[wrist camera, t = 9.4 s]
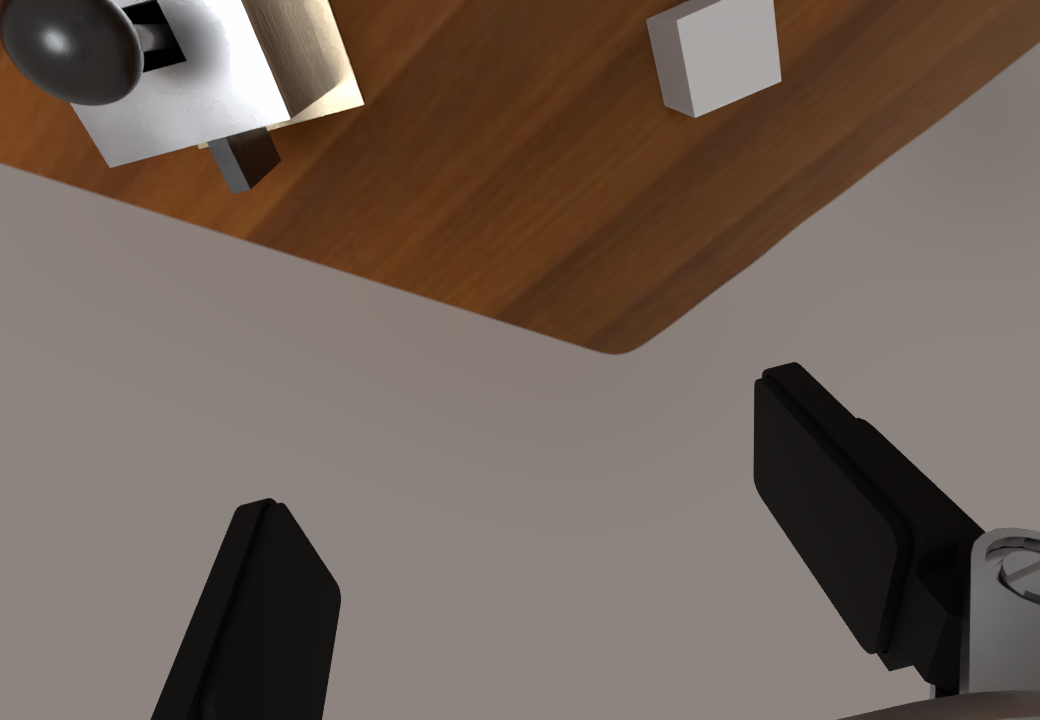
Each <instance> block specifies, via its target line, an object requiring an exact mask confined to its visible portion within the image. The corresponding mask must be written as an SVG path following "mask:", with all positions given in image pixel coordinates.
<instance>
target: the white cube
mask: <svg viewBox="0 0 1040 720" xmlns="http://www.w3.org/2000/svg"><path fill="white" fill-rule="evenodd" d="M646 22H647V27H648V32H649V36H650V41H651V46H652V50H653V55H654V59H655V64H656V69H657V73H658V78H659V83H660V87H661V92H662V96H663V101H664V106H666V107H669V108H671V109H674V110H676V111H679V112H681V113H684V114H686V115H689V116H691V117H694V118H696V117H699V116H701V115H703V114H706V113H708V112H710V111H713V110H715V109H717V108H720V107H722V106H725V105H727V104H729V103H732V102H734V101H736V100H739V99H741V98H743V97H746V96H748V95H750V94H753V93H755V92H757V91H760V90H762V89H764V88H767V87H769V86H772V85H774V84H776V83H779V82H781V72H780V62H779V52H778V43H777V33H776V23H775V13H774V4H773V0H689V1H686V2H684V3H682V4H680V5H677V6H675V7H673V8H671V9H668V10H666V11H664V12H662V13H659V14H657V15H655V16H653V17H650V18H648V19H646Z"/></svg>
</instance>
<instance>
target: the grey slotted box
mask: <svg viewBox="0 0 1040 720" xmlns="http://www.w3.org/2000/svg"><path fill="white" fill-rule="evenodd" d="M113 1H114V2H115V3H116V4H117V5H118V6H119V7H120V8H121V9H122V10H123V11H124V12H125V13H126V15H127V16H128V17H129V19H130V20H131V22H132V23H133V25H135V24H149V15H148V8H149V3H151V2H154V1H158V3H159V5H160V7H161V9H162V11H163V13H164V15H165V17H166V19H167V21H168V23H169V25H170V27H171V29H172V31H173V33H174V36H175V38H176V40H177V42H178V44H179V46H180V48H181V50H182V52H183V54H184V56H185V58H186V60H187V61H185V62H181V63H177V64H174V65H169V64H168V63H167V62H166V60H165V59H164V57H163V56H162V54H161V53H160V51H159V50H153V51H145V52H144V68H143V73H142V76H141V79H140V81H139V83H138V84H137V86H136V87H135V88H134V90H133V91H132V92H131V93H130V94H129V95H127V96H126V97H125V98H123V99H121V100H119V101H117V102H114V103H111V104H107V105H101V106H86V105H79V104H74V103H70V104H71V105H72V107H73V108H74V110H75V112H76V113H77V115H78V117H79V118H80V120H81V121H82V123H83V125H84V126H85V128H86V130H87V131H88V133H89V134H90V136H91V138H92V139H93V141H94V143H95V144H96V146H97V147H98V149H99V151H100V152H101V154H102V156H103V157H104V159H105V160H106V162H107V164H108V165H109V167H110V168H111V167H115V166H118V165H122V164H126V163H130V162H133V161H137V160H141V159H144V158H148V157H152V156H156V155H159V154H163V153H167V152H170V151H174V150H178V149H182V148H185V147H189V146H193V145H198V147H199V149H202V148H206V147H209V148H210V151H211V153H212V155H213V157H214V159H215V161H216V163H217V165H218V167H219V169H220V171H221V173H222V175H223V177H224V179H225V181H226V183H227V185H228V187H229V189H230V190H231V192H232V194H236V193H240V192H244V191H247V190H251V189H252V188H253V187H254V186H255V185H256V184H257V183H258V182H259V181H260V180H261V179H262V178H263V177H264V176H265V175H267V174H268V173H269V172H270V171H271V170H272V169H273V168H274V167H275V166H276V165H277V164H278V163H279V162H280V161H281V159H280V157H279V155H278V152H277V150H276V148H275V146H274V144H273V141H272V139H271V137H270V135H269V132H268V131H269V130H273V129H276V128H280V127H284V126H287V125H291V124H295V123H299V122H302V121H306V120H310V119H313V118H317V117H321V116H325V115H328V114H332V113H336V112H339V111H343V110H347V109H351V108H354V107H358V106H362V105H364V104H365V102H364V99H363V96H362V93H361V90H360V88H359V85H358V82H357V79H356V76H355V73H354V70H353V67H352V65H351V62H350V59H349V56H348V53H347V50H346V47H345V44H344V42H343V39H342V36H341V33H340V30H339V27H338V24H337V21H336V19H335V16H334V13H333V10H332V7H331V4H330V1H329V0H113Z"/></svg>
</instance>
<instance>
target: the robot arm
mask: <svg viewBox="0 0 1040 720" xmlns="http://www.w3.org/2000/svg"><path fill="white" fill-rule="evenodd" d="M754 482H755V486H756V489H757V491H758V493H759V495H760V497H761V498H762V500H763V501H764V503H765V504H766V506H767V507H768V508H769V510H770V512H771V513H772V515H773V516H774V518H775V519H776V521H777V522H778V523H779V525H780V526H781V528H782V529H783V531H784V532H785V534H786V535H787V537H788V538H789V540H790V541H791V543H792V544H793V546H794V547H795V549H796V550H797V552H798V553H799V554H800V556H801V558H802V559H803V561H804V562H805V564H806V565H807V566H808V568H809V569H810V571H811V572H812V574H813V575H814V577H815V578H816V580H817V581H818V583H819V584H820V586H821V587H822V589H823V590H824V592H825V593H826V595H827V596H828V598H829V599H830V601H831V602H832V604H833V605H834V607H835V608H836V610H837V611H838V613H839V614H840V616H841V617H842V619H843V620H844V622H845V623H846V625H847V626H848V628H849V629H850V631H851V632H852V633H853V635H854V636H855V638H856V639H857V641H858V642H859V644H860V645H861V646H862V648H863V649H864V650H865V651H866V652H867V653H869V654H875V653H877V654H878V656H879V657H880V659H881V660H882V662H883V663H884V665H885V666H886V668H887V669H888V670H889V671H893V670H897V669H901V668H904V667H908V666H912V665H914V667H915V668H916V670H917V671H918V672H919V674H920V675H921V676H922V678H923V679H924V680H925V681H926V682H928V683H930V695H929V700H924V701H919V702H913V703H908V704H904V705H900V706H895V707H891V708H886V709H882V710H878V711H873V712H869V713H864V714H860V715H855V716H851V717H847V718H842V719H838V720H1040V532H1037V531H1034V530H1027V529H1020V528H1002V529H995V530H992V531H989V532H987V533H986V532H985V531H984V530H983V529H982V528H981V527H979V526H978V525H977V524H976V523H975V522H974V521H973V520H972V519H971V518H970V517H969V516H968V515H967V514H966V513H965V512H963V510H961V509H960V508H959V507H958V506H957V505H956V504H955V503H954V502H953V501H952V500H951V499H950V498H949V497H948V496H947V495H946V494H944V493H943V492H942V491H941V490H940V489H939V488H938V487H937V486H936V485H935V484H934V483H933V482H932V481H931V480H930V479H929V478H928V477H926V476H925V475H924V474H923V473H922V472H921V471H920V470H919V469H918V468H917V467H916V466H915V465H914V464H912V462H910V461H909V460H908V459H907V458H906V457H905V456H904V455H903V454H902V453H901V452H900V451H899V450H898V449H897V448H896V447H894V446H893V445H892V444H891V443H890V442H889V441H888V440H887V439H886V438H885V437H884V436H883V435H882V434H881V433H880V432H879V431H877V430H876V428H874V427H873V426H872V425H871V424H870V423H868V422H867V421H865V420H863V419H860V418H855V417H854V416H853V415H852V414H851V413H850V412H849V411H848V410H847V409H846V408H845V407H844V406H842V404H841V403H839V402H838V401H837V400H836V399H835V398H834V397H833V396H832V395H831V394H830V393H829V392H828V391H827V390H826V389H825V388H824V387H823V386H822V385H821V384H820V383H819V382H818V381H817V380H816V379H815V378H813V377H812V376H811V375H810V374H809V373H808V372H807V371H806V370H805V369H804V368H803V367H802V366H801V365H800V364H798V363H796V362H793V363H788V364H784V365H780V366H777V367H773V368H769V369H766V370H764V371H763V373H762V378H761V379H757V380H756V381H755V386H754ZM340 605H341V594H340V589H339V586H338V584H337V583H336V581H335V579H334V578H333V576H332V575H331V573H330V572H329V570H328V569H327V567H326V566H325V564H324V563H323V561H322V560H321V558H320V557H319V555H318V554H317V552H316V551H315V549H314V547H313V546H312V544H311V543H310V541H309V540H308V538H307V537H306V535H305V534H304V532H303V531H302V529H301V528H300V526H299V525H298V523H297V522H296V520H295V518H294V517H293V515H292V514H291V512H290V511H289V509H288V508H287V506H286V505H285V504H283V503H278V504H277V503H276V501H275V500H273V499H271V498H267V499H263V500H259V501H256V502H252V503H248V504H244V505H241V506H239V507H238V508H237V509H236V511H235V513H234V515H233V518H232V520H231V523H230V525H229V528H228V530H227V532H226V535H225V537H224V540H223V542H222V545H221V547H220V550H219V552H218V555H217V557H216V560H215V562H214V564H213V567H212V569H211V572H210V574H209V577H208V579H207V582H206V584H205V587H204V589H203V592H202V594H201V597H200V599H199V602H198V604H197V606H196V609H195V611H194V614H193V617H192V619H191V621H190V624H189V626H188V629H187V631H186V634H185V636H184V639H183V641H182V643H181V646H180V648H179V651H178V653H177V656H176V658H175V661H174V663H173V666H172V668H171V671H170V673H169V676H168V678H167V680H166V683H165V685H164V688H163V690H162V693H161V695H160V698H159V700H158V703H157V705H156V708H155V710H154V713H153V715H152V718H151V720H322V716H323V710H324V704H325V697H326V691H327V685H328V679H329V673H330V666H331V661H332V654H333V648H334V642H335V636H336V630H337V624H338V618H339V611H340Z"/></svg>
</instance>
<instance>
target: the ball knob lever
mask: <svg viewBox="0 0 1040 720" xmlns="http://www.w3.org/2000/svg"><path fill="white" fill-rule="evenodd" d="M148 15H149V24H135V25H133V23H132V22H131V20H130V19H129V17H128V16H127V15H126V13H125V12H124V11H123V10H122V9H121V8H120V7H119V6H118V5H117V4H116V3H115V2H114V1H113V0H1V2H0V39H1V42H2V44H3V47H4V49H5V51H6V53H7V54H8V56H9V58H10V59H11V61H12V62H13V63H14V65H15V66H16V67H17V68H18V70H19V71H20V72H21V73H22V74H23V75H24V76H25V77H26V78H27V79H28V80H30V81H31V82H32V83H33V84H35V85H36V86H37V87H39V88H40V89H42V90H43V91H45V92H47V93H48V94H50V95H52V96H54V97H56V98H59V99H61V100H64V101H67V102H70V103H74V104H79V105H86V106H101V105H107V104H111V103H114V102H117V101H119V100H121V99H123V98H125V97H126V96H127V95H129V94H130V93H131V92H132V91H133V90H134V88H135V87H136V86H137V84H138V83H139V81H140V79H141V76H142V73H143V68H144V52H145V51H153V50H159V51H160V53H161V54H162V56H163V57H164V59H165V60H166V62H167V63H168V64H169V65H174V64H177V63H181V62H185V61H187V60H186V58H185V56H184V54H183V52H182V50H181V48H180V46H179V44H178V42H177V40H176V38H175V36H174V33H173V31H172V29H171V27H170V25H169V23H168V21H167V19H166V17H165V15H164V13H163V11H162V9H161V7H160V5H159V3H158V1H154V2H151V3H149V8H148Z"/></svg>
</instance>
